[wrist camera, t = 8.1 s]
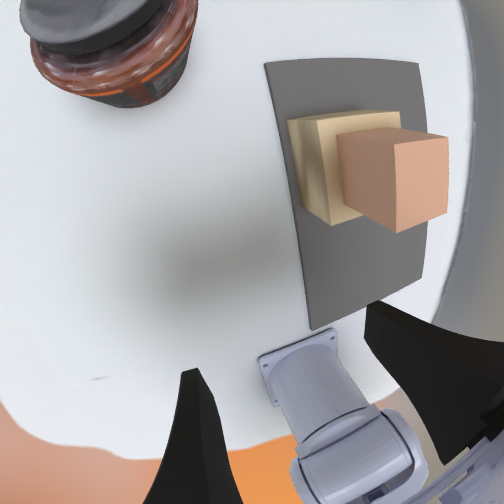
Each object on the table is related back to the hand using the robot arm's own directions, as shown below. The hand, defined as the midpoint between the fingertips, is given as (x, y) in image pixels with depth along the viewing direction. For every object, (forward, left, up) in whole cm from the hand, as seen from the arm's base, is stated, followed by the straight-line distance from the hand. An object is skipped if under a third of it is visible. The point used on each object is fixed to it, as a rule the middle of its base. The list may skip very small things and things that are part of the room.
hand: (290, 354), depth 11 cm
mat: (+1, -12, -10) cm, 16 cm away
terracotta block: (+5, -8, -6) cm, 11 cm away
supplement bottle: (+14, +3, -11) cm, 17 cm away
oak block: (+5, -8, -10) cm, 14 cm away
